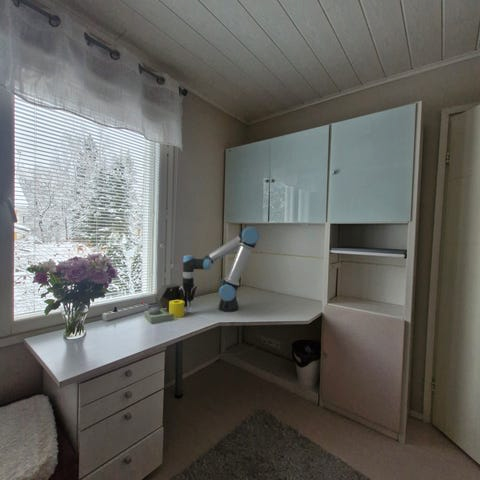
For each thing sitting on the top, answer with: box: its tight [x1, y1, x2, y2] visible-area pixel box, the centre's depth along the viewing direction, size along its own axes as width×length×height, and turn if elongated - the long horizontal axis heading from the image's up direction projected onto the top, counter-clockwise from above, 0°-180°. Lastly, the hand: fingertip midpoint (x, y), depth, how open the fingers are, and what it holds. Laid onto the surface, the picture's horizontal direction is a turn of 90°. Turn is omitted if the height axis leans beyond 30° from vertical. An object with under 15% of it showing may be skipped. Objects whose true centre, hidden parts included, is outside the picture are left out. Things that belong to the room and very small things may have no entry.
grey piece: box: [144, 306, 175, 325], centre depth 167 cm, size 14×15×7 cm
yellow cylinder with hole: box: [168, 300, 185, 319], centre depth 174 cm, size 10×10×9 cm
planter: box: [154, 283, 182, 313], centre depth 187 cm, size 17×8×21 cm
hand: (187, 310), depth 179 cm, fingers closed
